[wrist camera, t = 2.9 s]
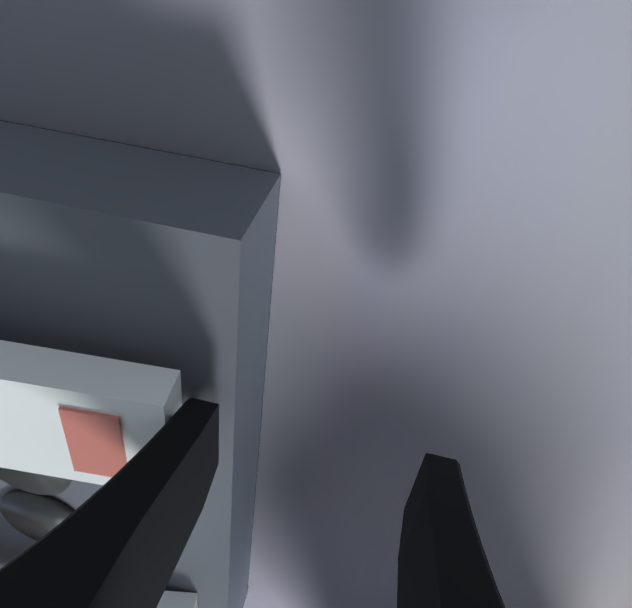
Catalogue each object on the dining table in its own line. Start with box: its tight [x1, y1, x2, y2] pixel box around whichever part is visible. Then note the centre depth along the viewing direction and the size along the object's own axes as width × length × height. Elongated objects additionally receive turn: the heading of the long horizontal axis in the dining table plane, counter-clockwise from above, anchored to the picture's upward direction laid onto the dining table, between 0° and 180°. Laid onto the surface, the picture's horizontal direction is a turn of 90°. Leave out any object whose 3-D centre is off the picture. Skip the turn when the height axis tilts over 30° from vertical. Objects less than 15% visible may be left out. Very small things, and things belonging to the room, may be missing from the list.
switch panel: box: [0, 121, 281, 608], centre depth 17 cm, size 12×20×3 cm, turn 174°
